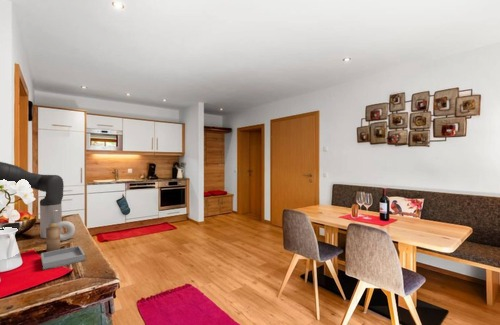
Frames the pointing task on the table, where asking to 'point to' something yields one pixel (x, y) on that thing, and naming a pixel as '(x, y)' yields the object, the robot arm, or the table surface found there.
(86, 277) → the table surface
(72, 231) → the donut
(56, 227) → the pepper mill
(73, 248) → the tray
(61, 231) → the robot arm
